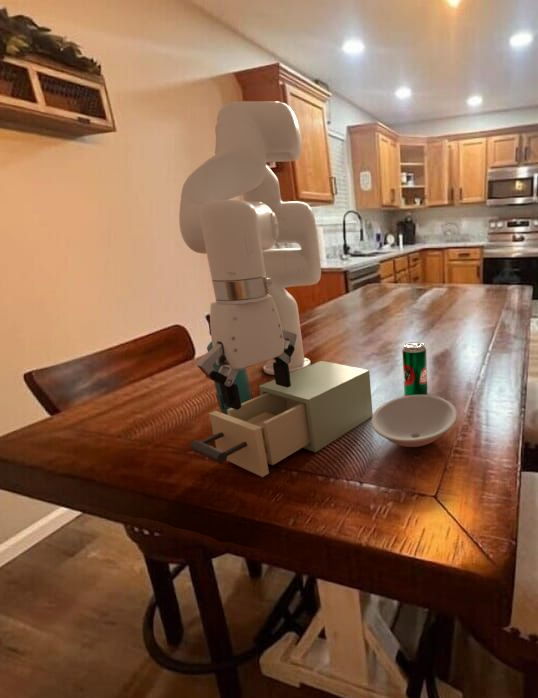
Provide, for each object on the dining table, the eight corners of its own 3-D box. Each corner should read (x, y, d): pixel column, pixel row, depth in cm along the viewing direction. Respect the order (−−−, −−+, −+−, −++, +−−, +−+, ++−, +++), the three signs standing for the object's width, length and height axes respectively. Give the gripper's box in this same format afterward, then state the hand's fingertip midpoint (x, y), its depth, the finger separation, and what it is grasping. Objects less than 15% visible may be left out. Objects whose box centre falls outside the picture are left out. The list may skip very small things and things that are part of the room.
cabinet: (315, 452, 69) (308, 399, 66) (267, 434, 76) (258, 385, 73) (372, 416, 81) (369, 370, 78) (326, 403, 88) (321, 360, 85)
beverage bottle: (261, 411, 85) (245, 318, 79) (240, 425, 79) (221, 326, 73) (236, 408, 88) (218, 317, 81) (214, 422, 82) (192, 325, 75)
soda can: (425, 402, 86) (424, 348, 82) (402, 401, 87) (399, 348, 83) (429, 392, 91) (427, 341, 87) (406, 392, 92) (404, 341, 88)
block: (247, 446, 67) (242, 422, 66) (269, 435, 71) (265, 411, 69) (264, 453, 65) (260, 428, 64) (286, 441, 68) (282, 417, 67)
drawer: (233, 495, 57) (222, 446, 54) (189, 471, 63) (177, 426, 61) (330, 435, 72) (325, 394, 70) (286, 421, 78) (281, 383, 76)
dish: (447, 474, 61) (446, 445, 59) (358, 462, 65) (356, 435, 63) (463, 421, 77) (463, 397, 75) (391, 414, 81) (390, 391, 79)
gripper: (272, 281, 69) (286, 375, 74) (170, 298, 55) (196, 411, 61) (302, 282, 65) (315, 382, 70) (200, 302, 51) (225, 423, 57)
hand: (259, 395), depth 66 cm, fingers open, 9 cm apart
